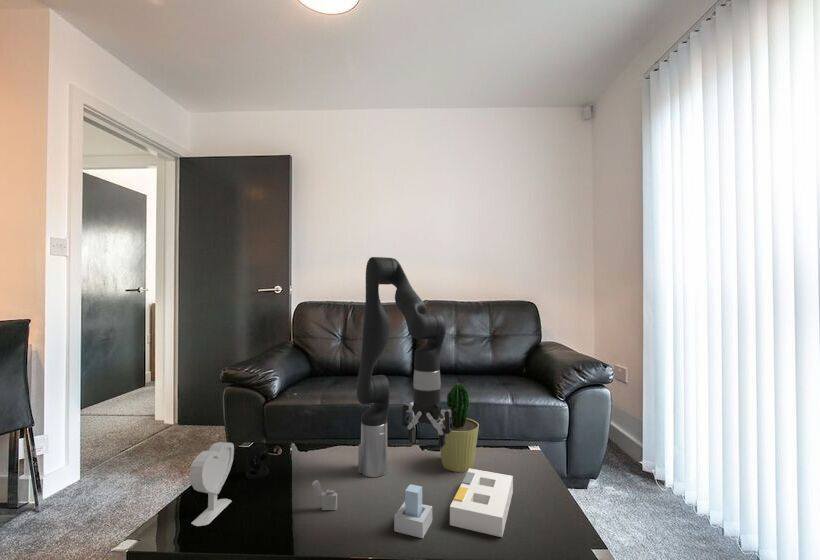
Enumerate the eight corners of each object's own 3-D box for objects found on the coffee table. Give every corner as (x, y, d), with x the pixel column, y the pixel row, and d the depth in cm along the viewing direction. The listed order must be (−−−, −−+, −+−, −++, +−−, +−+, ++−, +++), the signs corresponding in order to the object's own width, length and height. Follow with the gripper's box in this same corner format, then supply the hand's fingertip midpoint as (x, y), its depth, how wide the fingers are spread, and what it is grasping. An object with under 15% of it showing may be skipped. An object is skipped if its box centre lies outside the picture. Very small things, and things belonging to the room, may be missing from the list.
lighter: (337, 507, 113) (337, 479, 113) (336, 510, 111) (336, 482, 111) (313, 506, 113) (313, 479, 113) (311, 510, 111) (311, 482, 111)
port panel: (449, 525, 104) (449, 504, 105) (469, 483, 127) (469, 467, 127) (502, 537, 99) (502, 516, 100) (512, 491, 122) (512, 474, 122)
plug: (405, 528, 103) (405, 490, 103) (409, 520, 106) (410, 484, 107) (417, 531, 102) (417, 493, 102) (422, 523, 105) (422, 486, 105)
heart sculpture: (203, 528, 102) (205, 460, 103) (186, 527, 103) (187, 459, 103) (235, 497, 118) (236, 438, 118) (220, 496, 118) (221, 437, 119)
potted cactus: (449, 452, 151) (449, 375, 152) (485, 462, 142) (485, 381, 143) (428, 466, 139) (428, 383, 140) (466, 479, 130) (466, 389, 131)
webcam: (254, 482, 127) (255, 451, 127) (240, 476, 131) (241, 446, 131) (274, 472, 134) (274, 443, 134) (260, 467, 138) (260, 439, 138)
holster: (394, 531, 102) (394, 515, 102) (405, 514, 109) (405, 500, 109) (422, 538, 99) (422, 522, 99) (432, 520, 106) (432, 506, 106)
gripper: (397, 386, 106) (397, 445, 106) (446, 392, 100) (446, 454, 100) (409, 380, 113) (409, 435, 113) (455, 385, 107) (455, 444, 107)
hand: (426, 444), depth 106 cm, fingers open, 8 cm apart
